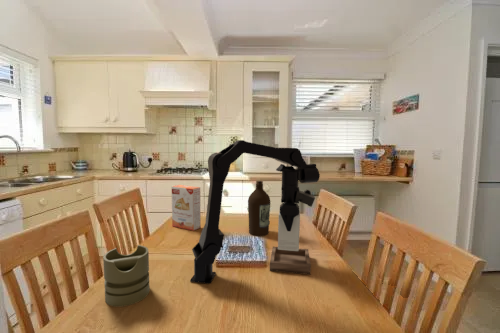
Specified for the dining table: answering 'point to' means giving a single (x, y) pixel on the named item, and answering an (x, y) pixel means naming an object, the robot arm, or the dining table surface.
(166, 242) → the dining table surface
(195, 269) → the robot arm
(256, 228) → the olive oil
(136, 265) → the green divided utensil holder
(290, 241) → the supplement box
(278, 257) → the holder tray
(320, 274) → the dining table surface
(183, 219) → the cracker box
